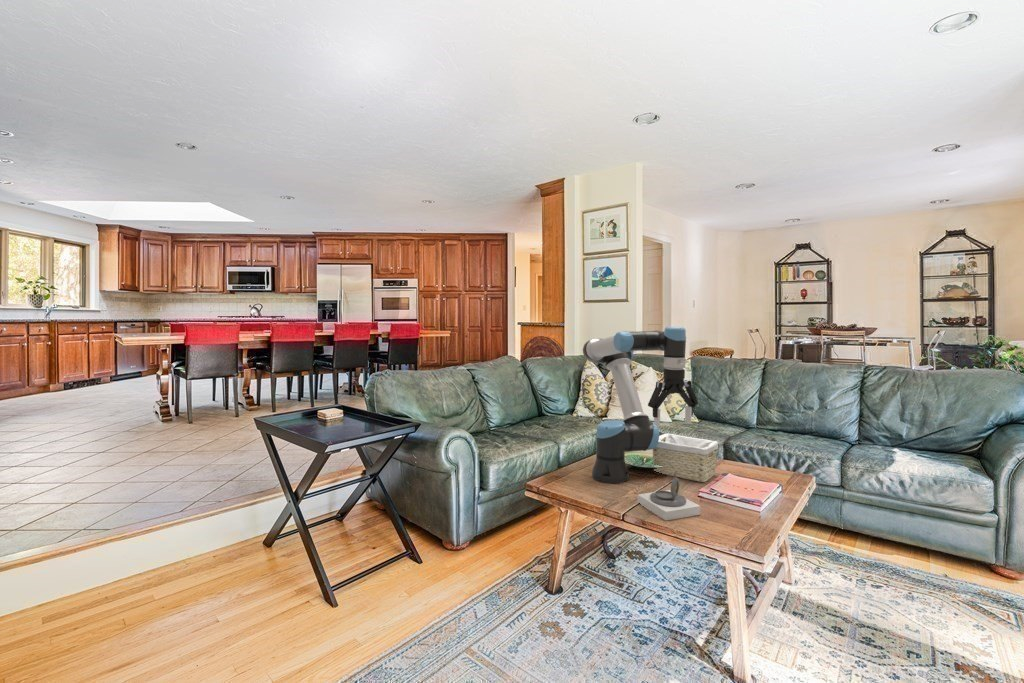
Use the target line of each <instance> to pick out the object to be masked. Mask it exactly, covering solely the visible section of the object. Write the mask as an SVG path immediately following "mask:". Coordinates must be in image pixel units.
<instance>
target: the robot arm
mask: <svg viewBox="0 0 1024 683" xmlns="http://www.w3.org/2000/svg"><path fill="white" fill-rule="evenodd" d="M686 333H687V330H686V328H685V327H684V326H666V327H665V328H664V331H661V330H649V331H647V330H645V331H644V330H642V331H628V330H627V331H626V330H622V331H617V332H616V333H615V334H614V335H612V336H608V337H604V338H593V339H589V340H587V341H586V342H585V343H584V344H583V347H582V353H583V356H584V358H585V359H586V360H587V361H589V362H590V363H594V364H605V366H606V369H607V371H608V370H609V371H610V372H611V376H612V379H613V380H612V381H613V382H614V386H615V389H616V393H617V396H618V401H619V405H620V408H621V411H622V416H623V420H620V419H619V420H618V419H616V420H615V419H610V420H605V421H602V422H600V423H598V425H597V426H596V432H595V438H596V443H595V444H596V448H595V450H596V452H595V453H596V455H595V456H596V459H595V460H594V464H593V467H592V471H591V477H592V478H593V479H594V480H596V481H598V482H600V483H601V482H602V483H605V484H607V483H608V484H621V482H622V483H625V482H627V481H629V480H630V475H629V470H628V466H627V463H626V458H625V454H626V453H628V452H641V451H644V452H646V451H650V450H653V449H654V448H655V447H656V446H657V444H658V440H659V436H660V431H659V428H660V427H661V408H660V407H661V405H662V404H663V403H664V401H665V400H666V398H668V396H670V394H672V395H674V394H678V395H679V396H680V397H681V398H682V400H683V401H684V402H685V403H686V405H684V406H685V407H684V408H685V411H684V423H685V424H686V425H692V416H693V415H694V408H696V406H697V405H698V404H699V401H698V400H697V396H696V394H695V390H694V389H693V386H692V381H691V380H687V379H685V375H686V370H685V369H684V368H685V367H686V349H687V348H686V343H687V335H686ZM637 351H639V352H640V351H641V352H643V351H661V352H663V367H664V368H663V371H662V372H663V374H662V376H663V382H662V381H656V382H655V387H654V390H653V392H652V395H651V397H650V399H649V401H648V402H647V406H648V408H652V417H653V421H651V420H650V416H649V415H648V414H645V413H644V410H643V407H642V403H641V399H640V397H639V396H640V395H639V393H638V390H637V386H636V383H635V381H634V378H633V373H632V371H631V367H630V366H631V365H632V361H633V359H634V356H635V355H634V352H637ZM684 387H685V389H684Z"/></svg>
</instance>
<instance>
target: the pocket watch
mask: <svg viewBox="0 0 1024 683" xmlns="http://www.w3.org/2000/svg"><path fill="white" fill-rule="evenodd" d="M675 473H677V471H676V472H675ZM675 473H674V476H673V479H672V481H671V483H670V490H671V492H668V491H665V490H657V491H654V492H655V495H656V497H658V498H661V499H673V498H674V497H676V496H677V495H678V494H679V491H680V480H679V479H680V478H679V477H676V474H675Z"/></svg>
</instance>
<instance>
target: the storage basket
mask: <svg viewBox="0 0 1024 683" xmlns="http://www.w3.org/2000/svg"><path fill="white" fill-rule="evenodd" d="M718 449H719V442H718V441H716V440H709V439H703V438H697V437H690V436H685V435H679V434H672V433H667V432H666V433H663V434H660V435H659V440H658V444H657V446H656V447H655V448H654V449H652V460H653V466H654V465H656V464H657V465H659V466H663V467H662V468H657V469H654V468H653V472H654V471H656V472H659V473H662V474H661V475H665V474H666V475H665V476H670V477H674V473H675V472H676V471H677V473H675V474H676V478H679V479H684V480H689V481H695V482H699V483H705V482H707V481H709V480H710V479H711V478H712V477H714V476H715V473H716V471H715V470H716V466H717V464H716V463H717V462H716V461H717V454H718ZM656 472H655V473H656ZM659 473H658V474H659Z"/></svg>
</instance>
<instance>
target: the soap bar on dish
mask: <svg viewBox="0 0 1024 683" xmlns="http://www.w3.org/2000/svg"><path fill="white" fill-rule="evenodd" d="M664 491H668V492H671V489H666V490H664ZM655 492H656V491H654V492H653V491H652V492H646V493H645V492H644V493H639V494H637V502H639V503H640V504H641V505H640V504H639V503H638V504H639V505H640V506H642V507H643V506H644V509H645V508H646V509H647V510H649V511H650V512H651V511H652V512H651V513H653V514H655V515H656V516H657V517H659V518H661V519H663V521H671V520H676V519H682V518H689V517H695V516H699V515H701V505H699V504H697V503H695V502H693V501H692V500H689V499H687V498H686V497H685V496H684V495H681V494H679V493H678V495H677V496H676V497H674V498H673V499H661V498H658V497H656V495H655Z"/></svg>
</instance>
